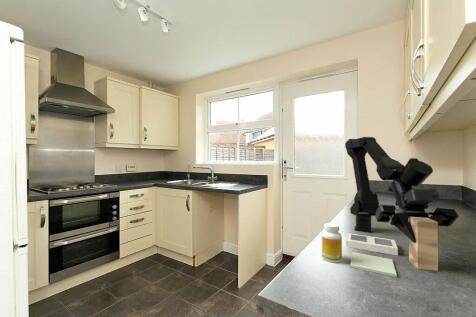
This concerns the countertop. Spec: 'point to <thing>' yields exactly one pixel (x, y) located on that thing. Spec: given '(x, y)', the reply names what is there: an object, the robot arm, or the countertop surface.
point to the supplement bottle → (331, 243)
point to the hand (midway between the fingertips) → (425, 243)
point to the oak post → (424, 243)
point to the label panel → (372, 244)
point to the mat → (373, 264)
